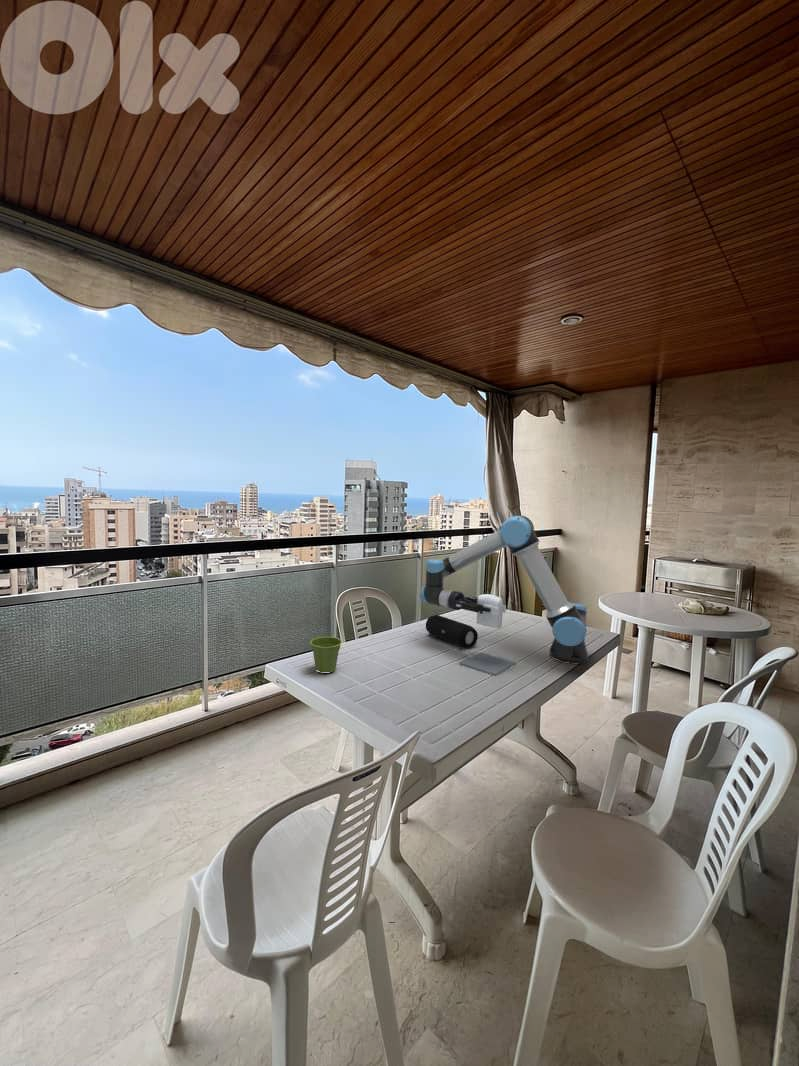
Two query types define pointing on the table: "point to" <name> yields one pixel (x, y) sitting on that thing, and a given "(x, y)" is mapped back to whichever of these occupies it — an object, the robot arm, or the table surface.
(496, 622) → the photo printer
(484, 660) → the rubber mat
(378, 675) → the table surface
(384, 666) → the table surface
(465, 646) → the portable speaker
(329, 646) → the plant pot
